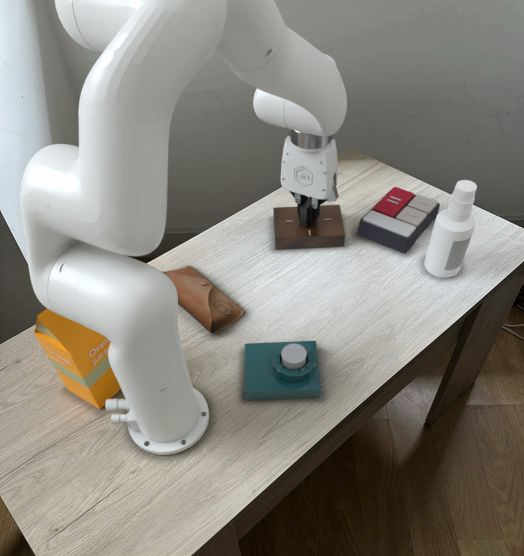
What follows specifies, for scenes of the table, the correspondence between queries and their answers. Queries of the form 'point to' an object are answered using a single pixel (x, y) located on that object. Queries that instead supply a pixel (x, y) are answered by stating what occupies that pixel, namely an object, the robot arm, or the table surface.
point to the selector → (308, 229)
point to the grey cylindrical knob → (294, 356)
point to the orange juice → (78, 357)
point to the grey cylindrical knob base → (280, 372)
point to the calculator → (398, 219)
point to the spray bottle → (452, 232)
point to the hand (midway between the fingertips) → (308, 218)
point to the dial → (305, 213)
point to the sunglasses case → (204, 300)
